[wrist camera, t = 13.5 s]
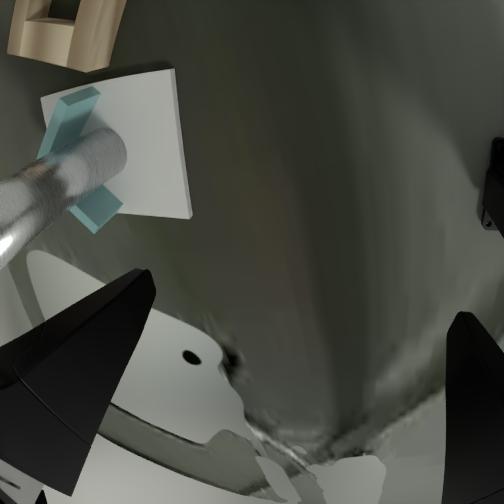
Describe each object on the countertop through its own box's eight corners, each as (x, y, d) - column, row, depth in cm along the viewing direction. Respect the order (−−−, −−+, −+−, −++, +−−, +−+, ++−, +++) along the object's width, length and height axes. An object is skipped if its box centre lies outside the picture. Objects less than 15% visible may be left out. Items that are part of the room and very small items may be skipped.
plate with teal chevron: (174, 68, 18) (139, 77, 14) (192, 215, 24) (168, 246, 21) (45, 96, 20) (9, 110, 17) (72, 206, 27) (45, 229, 24)
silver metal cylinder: (105, 116, 20) (-73, 221, 8) (136, 157, 22) (-29, 290, 10) (79, 147, 22) (-72, 254, 10) (107, 184, 24) (-33, 310, 12)
